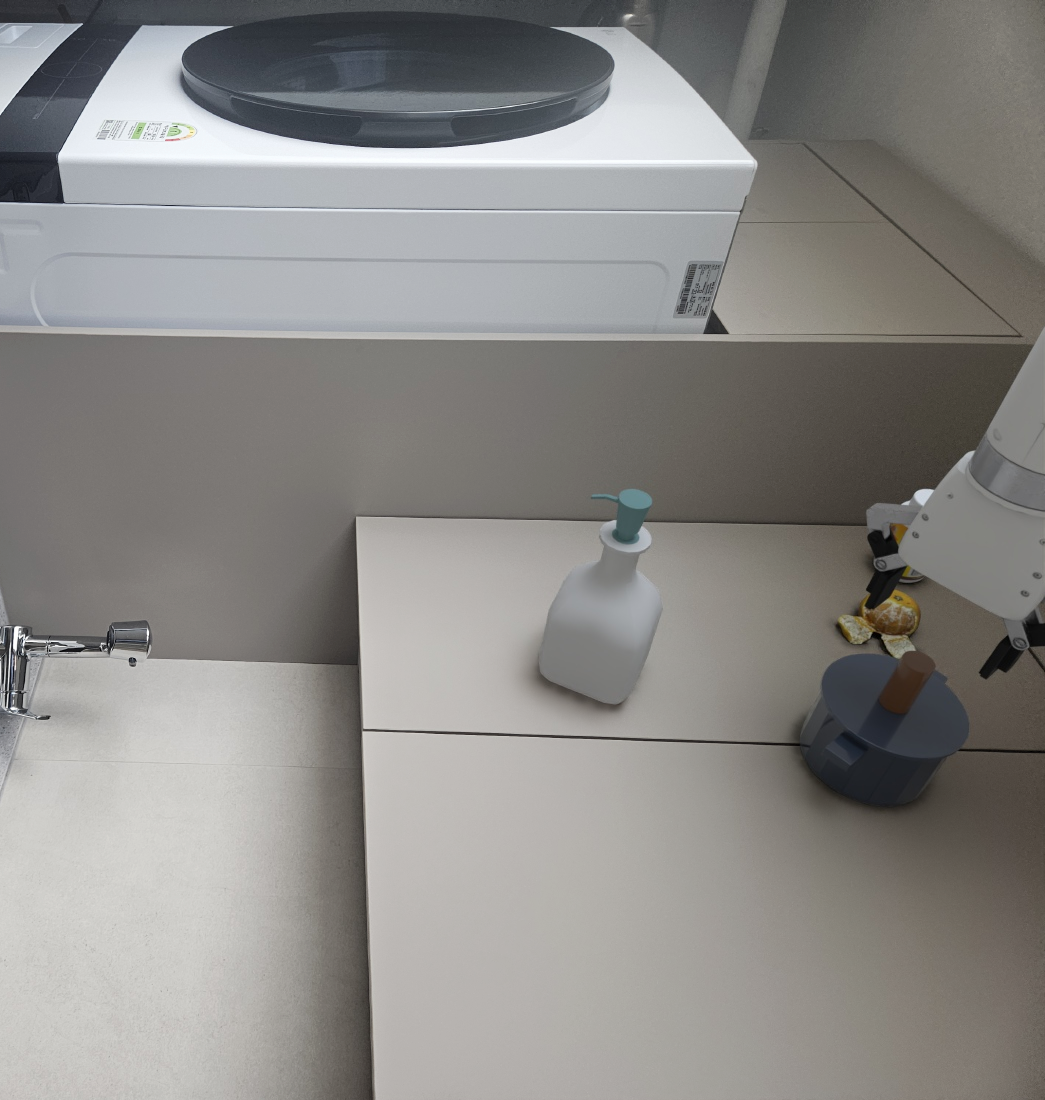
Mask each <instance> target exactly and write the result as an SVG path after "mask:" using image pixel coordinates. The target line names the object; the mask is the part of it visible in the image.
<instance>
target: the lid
mask: <svg viewBox="0 0 1045 1100" xmlns="http://www.w3.org/2000/svg"><path fill="white" fill-rule="evenodd" d="M936 669H937V665H936V662H935V661H934V659H933V658H932V657H931V656H929V655H928V654H926V653H924V652H922V651H919V650H916V651H907V652H905V653H904V654H903V655H902V657H901V659H898V658H895V657H893V656H891V655H886V654H879V653H854V654H849V655H845V656H842V657H840V658H837V659H836V660H835V661H833V662H832V663H830V664H829V665H828V666H827V668H826V669H825V671H824V672H823V674H822V677H821V679H820V685H819V693H820V692H821V697H822V700H823V703H824V705H825V707H826V709H827V711H828V712H829V714H830V715H831V716H832V718H833V719H834V720H835V721H836V722H837V724H838V725H839V726H840V727H841V728H843V729H844V730H845V731H846V732H847V733H848V734H850V735H851V736H852V737H854V738H855V739H857V740H858V741H860V742H861V743H863V744H865V745H867V746H868V747H870V748H872V749H874V750H877V751H879V752H881V753H884V754H887V755H890V756H893V757H897V758H901V759H906V760H912V761H934V760H940V759H943V758H946V757H947V758H949V757H950V756H952V755H954V754H956V753H957V752H958V751H960V750H961V749H962V748H963V746H964V745H965V743H966V742H967V739H968V738H969V735H970V729H971V727H970V726H971V725H970V718H969V715H968V712H967V710H966V708H965V706H964V704H963V702H962V701H961V700H960V698H959V697H958V696H957V695H956V694H955V692H954V691H953V690H952V688H950V687H949V686H948V685H947V684H946V683H945V684H944V683H943V682H942V681H940V680H939V679H938V678H937V677H935V676H934V675H932V674H933V672H934V671H935V670H936Z"/></svg>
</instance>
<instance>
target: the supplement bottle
mask: <svg viewBox="0 0 1045 1100" xmlns="http://www.w3.org/2000/svg"><path fill="white" fill-rule="evenodd" d="M934 490H935V489H930V488H922V489H919V490H917V491H915V492H914V494H913V496H912V497H911V499H910V500H907V501H904V502H903V503H901V504H900V505H911V506H924V504H925V503H926V501H927V500H928V498H929V497H930V496H931V494H932V493H933V491H934ZM909 526H910V525H903V524H893V523H890V526H889V528H890V529H891V530H892V532H893V535H894V537H895V539H896V542H897V544H898V545H900V543H901V541H902V539H903V537H904V535H905V533H906V531H907V530H908V528H909ZM875 559H876V558H875V556H874V555H873V561H874V560H875ZM925 577H926V576H925V575H923V574H921V573H919V572H918V571H916V570H914V569H913V568H911V567H910V566H907V568H906V570H905V571H904V573H903V575H902V577H901V579H900V580H899V582H898V583H906V584H907V583H908V584H912V583H918V582H919V581H922V580H923V579H924V578H925Z"/></svg>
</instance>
